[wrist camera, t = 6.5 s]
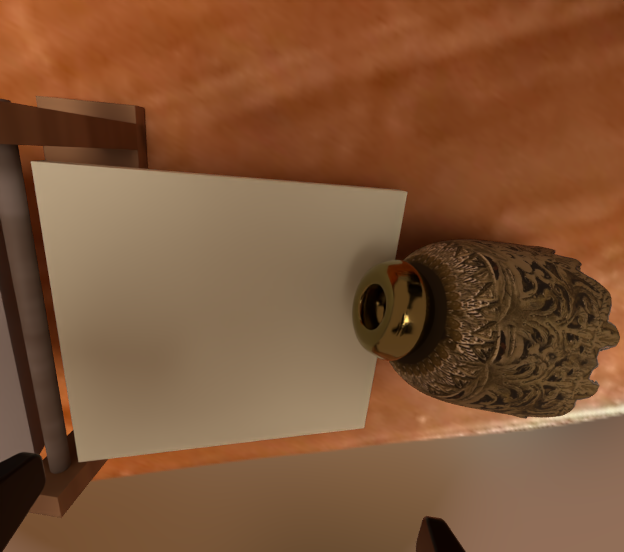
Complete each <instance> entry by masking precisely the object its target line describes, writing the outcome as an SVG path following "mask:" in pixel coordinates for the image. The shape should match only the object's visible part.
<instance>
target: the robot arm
mask: <svg viewBox="0 0 624 552" xmlns="http://www.w3.org/2000/svg"><path fill="white" fill-rule="evenodd" d="M45 483H46V476H45V471H44V466H43V461H42V457H41V456H40V455H39V454H36V453H29V452H21V453H18V454H16V455H14V456H12V457H10V458H8V459H6V460H4V461H2V462H0V552H3V550H4V549H5V547H6V546H7V544H8V542H9V541H10V539H11V538H12V536H13V535H14V533H15V532H16V530H17V529H18V527H19V526H20V524H21V523H22V521H23V520H24V518H25V516H26V515H27V514H28V512H29V511H30V509H31V507H32V506H33V504H34V503H35V501H36V500H37V498H38V497H39V495H40V494H41V492H42V491H43V489H44V486H45ZM416 552H465V550H464V549H463V547H462V546H461V544H460V543H459V541H458V540H457V538H456V537H455V535H454V534H453V532H452V531H451V529H450V528H449V526H448V525H447V523H446V522H445V521H444V520H443V519H441V518H436V517H429V516H426V517H424V518H423V520H422V524H421V527H420V531H419V534H418V538H417V543H416Z"/></svg>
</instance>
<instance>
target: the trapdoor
mask: <svg viewBox="0 0 624 552" xmlns="http://www.w3.org/2000/svg"><path fill="white" fill-rule="evenodd" d="M31 166H32V173H33V179H34V185H35V191H36V198H37V204H38V210H39V217H40V223H41V229H42V235H43V242H44V248H45V254H46V261H47V267H48V273H49V279H50V286H51V292H52V298H53V305H54V311H55V317H56V323H57V330H58V336H59V342H60V349H61V355H62V361H63V367H64V374H65V380H66V386H67V393H68V399H69V405H70V411H71V418H72V424H73V430H74V437H75V443H76V449H77V455H78V462H85V461H94V460H102V459H110V458H119V457H127V456H135V455H144V454H152V453H160V452H169V451H177V450H185V449H194V448H202V447H210V446H219V445H227V444H235V443H244V442H252V441H260V440H268V439H277V438H285V437H293V436H302V435H310V434H318V433H327V432H335V431H343V430H352V429H360V428H364V426H365V421H366V415H367V410H368V404H369V399H370V393H371V388H372V382H373V377H374V372H375V366H376V361H377V357H376V356H374V355H372V354H371V353H369V352H368V351H366V350H365V349H364V348H363V347H362V346H361V344H360V343H359V341H358V340H357V338H356V335H355V332H354V328H353V323H352V305H353V299H354V295H355V291H356V289H357V286H358V284H359V282H360V280H361V278H362V277H363V275H364V274H365V273H366V272H367V271H368V270H369V269H370V268H371V267H373V266H374V265H376V264H379V263H382V262H385V261H390V260H395V257H396V252H397V246H398V241H399V235H400V230H401V225H402V219H403V214H404V208H405V203H406V197H407V191H403V190H398V189H385V188H373V187H361V186H349V185H337V184H324V183H312V182H300V181H288V180H276V179H264V178H251V177H239V176H227V175H215V174H203V173H190V172H178V171H166V170H154V169H142V168H129V167H117V166H105V165H93V164H81V163H69V162H56V161H44V160H39V161H31ZM44 446H45V443H44V438H43V433H42V427H41V422H40V417H39V412H38V407H37V402H36V397H35V392H34V387H33V382H32V377H31V371H30V366H29V361H28V356H27V351H26V346H25V341H24V336H23V331H22V326H21V320H20V315H19V310H18V305H17V300H16V295H15V290H14V285H13V280H12V275H11V270H10V264H9V259H8V254H7V249H6V244H5V239H4V234H3V229H2V224H1V219H0V462H2V461H4V460H6V459H8V458H10V457H12V456H14V455H16V454H18V453H21V452H29V453H36V454H40V453H41V451H42V449H43V447H44Z"/></svg>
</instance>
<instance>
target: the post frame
mask: <svg viewBox="0 0 624 552" xmlns="http://www.w3.org/2000/svg"><path fill="white" fill-rule="evenodd" d="M36 100H37V107H33V106H27V105H22V104H16V103H11V102H10V100H5V99H0V219H1V224H2V229H3V234H4V239H5V244H6V249H7V254H8V259H9V264H10V270H11V275H12V280H13V285H14V290H15V295H16V300H17V305H18V310H19V315H20V320H21V326H22V331H23V336H24V341H25V346H26V351H27V356H28V361H29V366H30V371H31V377H32V382H33V387H34V392H35V397H36V402H37V407H38V412H39V417H40V422H41V427H42V433H43V438H44V443H45V448H46V453H47V457H46V458H44V459H43V460H42V461H43V466H44V471H45V476H46V483H45V486H44V489H43V491H42V492H41V494H40V495H39V497H38V498H37V500H36V501H35V503H34V504H33V506H32V507H31V509H30V511H29V512H30V513H36V514H42V515H48V516H53V517H60V518H62V516H63V515H64V514H65V512H66V511H67V510H68V509H69V508H70V506H71V505H72V504H73V503H74V501H75V500H76V499H77V497H78V496H79V495H80V494H81V493H82V491H83V490H84V489H85V487H86V486H87V485H88V484H89V482H90V481H91V480H92V479H93V477H94V476H95V475H96V474H97V472H98V471H99V470H100V469H101V467H102V466H103V465H104V464H105V462H106V461H107V460H108V459H102V460H94V461H85V462H78V455H77V449H76V443H75V437H74V430H73V431H72V432H71V433H70V434H69V435H68V436H67V435H66V429H65V423H64V417H63V411H62V405H61V399H60V393H59V387H58V381H57V375H56V369H55V363H54V357H53V351H52V345H51V339H50V334H49V328H48V322H47V316H46V310H45V304H44V298H43V292H42V286H41V280H40V274H39V268H38V262H37V256H36V250H35V244H34V238H33V232H32V227H31V221H30V215H29V209H28V203H27V197H26V191H25V185H24V179H23V173H22V167H21V161H20V155H19V149H18V145H36V146H43V148H44V155H45V161H56V162H69V163H81V164H93V165H105V166H117V167H129V168H142V169H147V151H146V132H145V114H144V108H143V107H139V106H134V105H124V104H114V103H104V102H94V101H83V100H73V99H63V98H53V97H43V96H36Z"/></svg>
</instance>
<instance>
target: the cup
mask: <svg viewBox="0 0 624 552" xmlns="http://www.w3.org/2000/svg"><path fill="white" fill-rule="evenodd" d="M554 253H555V250H552V249H549V248H544V247H539V246H525V245H518V244H511V243H503V242H494V241H484V240H472V239H458V240H445V241H440V242H436V243H432V244H429V245H426V246H424V247H422V248H420V249H418V250H416V251H414V252H413V253H411V254H410V255H409V256H407V257H406V258H405V259H404V260H403V261H402V260H390V261H385V262H382V263H379V264H376V265H374V266H373V267H371V268H370V269H369V270H368V271H367V272H366V273H365V274H364V275H363V277H362V278H361V280H360V282H359V284H358V286H357V289H356V291H355V295H354V299H353V305H352V323H353V328H354V332H355V335H356V338H357V340H358V341H359V343H360V344H361V346H362V347H363V348H364V349H365V350H366V351H368V352H369V353H371V354H372V355H374V356H376V357H378V358H380V359H382V360H387V361H389V362H390V363H391V365H392V366H393V368H394V369H395V371H396V372H397V373H398V374H399V375H400V376H401V377H402V378H403V379H404V380H405V381H406V382H407V383H408V384H410V385H411V386H413V387H414V388H416V389H417V390H419V391H420V392H422V393H424V394H426V395H428V396H431V397H433V398H436V399H439V400H442V401H445V402H448V403H452V404H456V405H460V406H465V407H470V408H475V409H480V410H486V411H491V412H497V413H502V414H508V415H513V416H517V417H520V418H527V417H556V416H562V415H565V414H567V413H568V412H570V411H571V410H572V409H573V408H574V407H575V405H576V401H577V400H582V399H586V398H589V397H591V396H593V395H594V394H595V393H596V392H597V390H598V388H599V384H598V382H597V381H595V382H594V381H593V380H590V375H591V373H592V371H593V370H594V369H595V368H597V367H598V365H599V363H598V360H597V356H598V354H599V352H600V351H602V350H607V349H610V348H611V347H615V346H617V344H618V342H619V339H620V336H619V332H618V330H617V328H616V326H615V325H614V324H612V323H611V322H609V321H608V320H609V315H610V312H611V306H612V303H611V296H610V293H609V292H608V291H607V290H606V289H605V288H604V287H603V286H602V285H601V284H600V283H598V282H597V281H596V280H594V279H593V278H591V277H589V276H587V275H586V274H584V273H582V272H581V271H580V266H581V265H582V264H581V262H579V261H578V260H576V259H573V258H568V257H563V256H559V255H556V254H554ZM605 347H607V348H605ZM608 347H609V348H608Z"/></svg>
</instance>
